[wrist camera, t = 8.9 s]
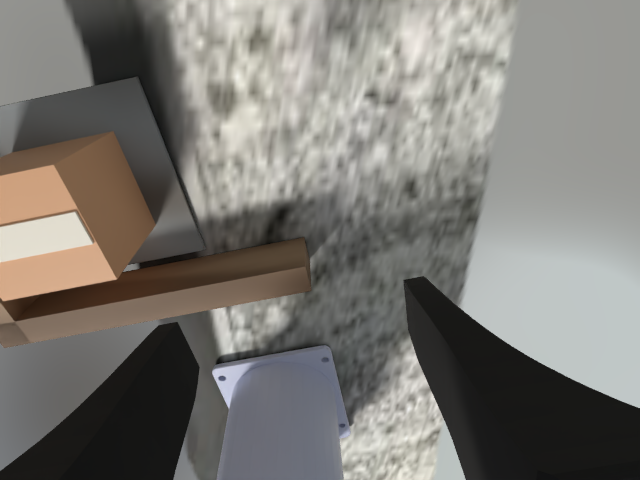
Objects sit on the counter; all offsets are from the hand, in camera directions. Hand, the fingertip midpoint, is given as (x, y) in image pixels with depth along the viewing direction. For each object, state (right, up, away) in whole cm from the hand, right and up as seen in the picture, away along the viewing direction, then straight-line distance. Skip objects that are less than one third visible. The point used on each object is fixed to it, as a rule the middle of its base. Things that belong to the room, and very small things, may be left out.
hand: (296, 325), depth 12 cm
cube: (-11, +5, +7) cm, 14 cm away
